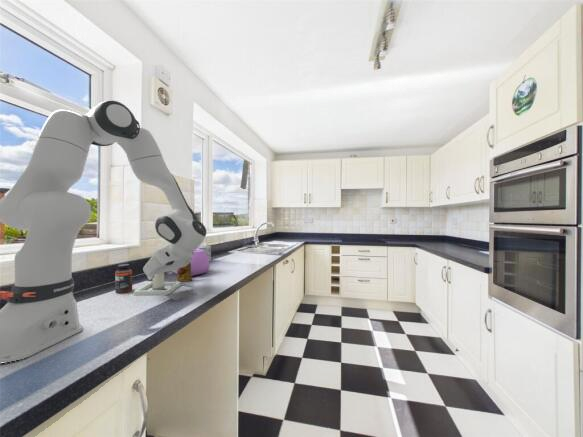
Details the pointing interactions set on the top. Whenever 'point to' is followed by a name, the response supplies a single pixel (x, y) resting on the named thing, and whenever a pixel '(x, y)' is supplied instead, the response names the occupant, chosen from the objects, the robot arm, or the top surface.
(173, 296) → the holder
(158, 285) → the salt shaker
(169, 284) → the parts tray
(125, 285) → the supplement bottle
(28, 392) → the top surface
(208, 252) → the light bulb box
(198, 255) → the teapot
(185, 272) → the condiment
